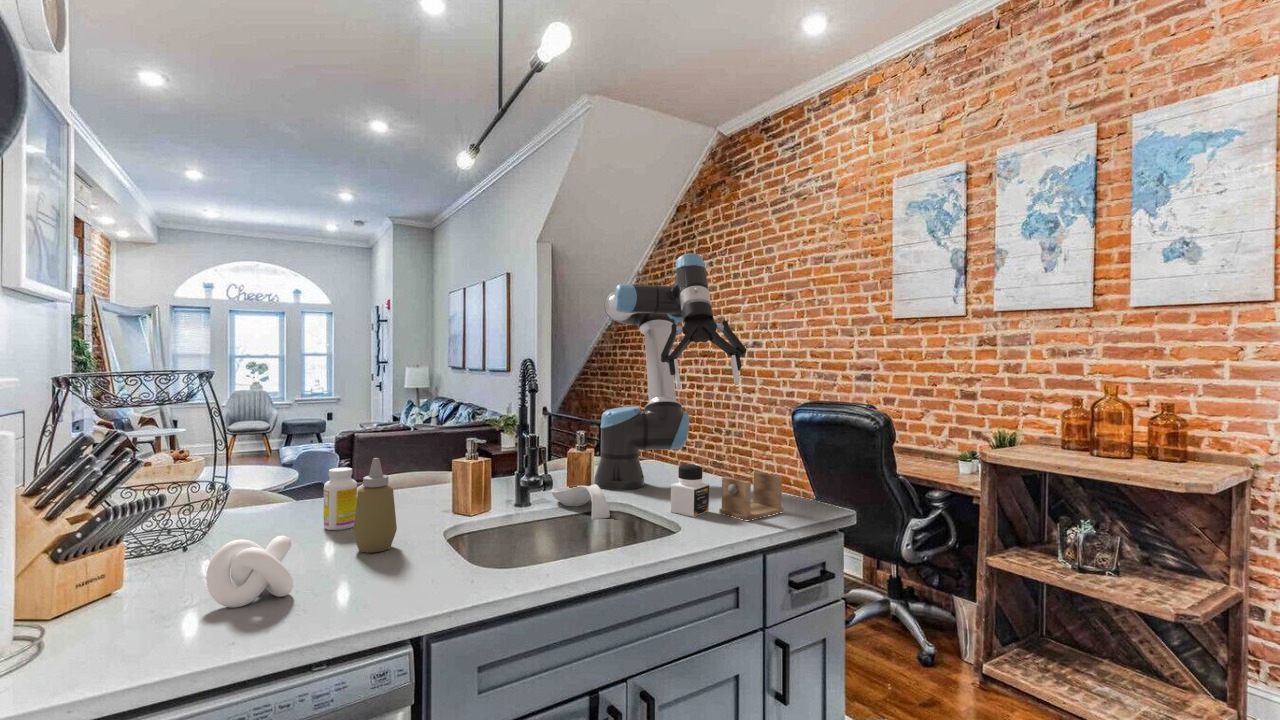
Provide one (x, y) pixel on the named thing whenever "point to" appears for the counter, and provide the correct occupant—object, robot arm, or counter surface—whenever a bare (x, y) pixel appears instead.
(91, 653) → the counter surface
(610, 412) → the robot arm
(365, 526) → the squeeze bottle
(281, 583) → the white knot sculpture
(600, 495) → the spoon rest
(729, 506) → the holder
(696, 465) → the medicine bottle
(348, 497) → the supplement bottle
